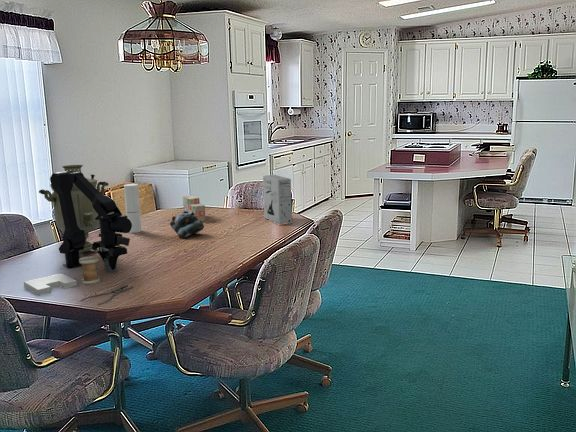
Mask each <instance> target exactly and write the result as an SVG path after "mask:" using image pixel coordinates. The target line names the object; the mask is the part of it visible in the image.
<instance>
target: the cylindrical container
mask: <svg viewBox="0 0 576 432" xmlns="http://www.w3.org/2000/svg"><path fill="white" fill-rule="evenodd" d="M123 190H124V191H123V192H124V200H125V201H124V202H125V214H126V215H125V216H127V219H129V220H130V221H131V223H132V228H131V230H130V232H129V234H135V233H137V234H138V233H140V232H142V222H141V221H142V220H141V219H142V218H141V207H140V194H139V184H138V183H127V184H124V185H123Z"/></svg>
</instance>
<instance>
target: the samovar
mask: <svg viewBox="0 0 576 432" xmlns="http://www.w3.org/2000/svg"><path fill="white" fill-rule="evenodd" d="M83 166H84V165H83V164H69V165H62V166H61V167H62V168H63V170H64V172H65V171H67V172H69V173H75V172H81V173H82V170H81V169H82V167H83ZM95 176H96V175H95V174H93V173H92V174H90V177H91V178H86V177H85V178H86V179H87V180H88V181H89V182H90V183H91V184H92V185H93V186H94V187H95V188H96V189H97V190H98V191H99V192H100V193H101V194H103V195H104V193H105V187H106V186H107V187H108V186H109V182H107V181H98V179H95ZM100 186H101V187H100ZM49 187H50V188H51V190H52V191H53V192H52V193H51V191H50V190H47V189H39V190H38V193H39V194H41V195H44V199H45V200H47V201H48V202H49V203H50V202H51V203H52V205H53V213H54V221H55V226H56V227H57V228H58V229H59V230H61V231H62V232H63V233H64V231H65V225H64V221H63V216H62V211H61V206H60V201H59V196H58V194H57V193H56V192H55V191H54V189H53V188H52V185H51V183H50V186H49ZM71 196H72V201H73V206H74V211H75V215H76V220H77V225H78V227H79V228H80V229H81V230H84V233H85V237H86V239H85V244H84V249H83V250H79V254H80V255H81V254H82V253H83V252H88V251H91V250H92V251H94V252H97V251H99V248H97V250H94V249H92V244H93V243H91V241H89V240H87V239H88V238H89V237H90V236H89V233H90V232H93V231H94V230H95V229H96V228H97V227H99V226H100V222H99V220H95V218H96V217H97V216H98V214H97V213H96V211H95V210H94V208H93V207H92V202H91V201H90V200H89V199H88V198H87V197H86V196H85V195H84V194H83V193H82V192H81V191H80V190H79V189H78V188H77V187H76V186H75V184H74V183H73V188H72V191H71Z"/></svg>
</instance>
